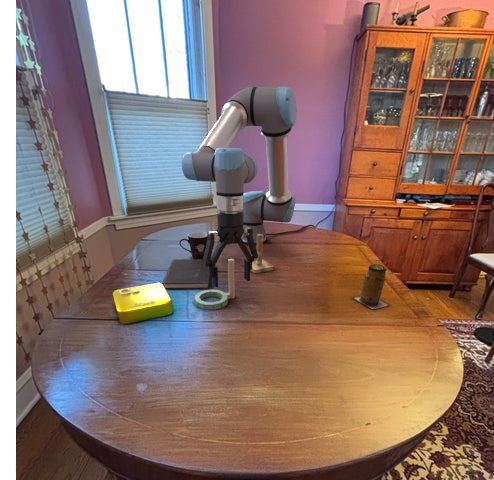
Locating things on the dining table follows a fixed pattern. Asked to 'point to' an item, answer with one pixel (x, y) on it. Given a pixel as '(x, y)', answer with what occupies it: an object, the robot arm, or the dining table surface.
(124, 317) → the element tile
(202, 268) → the hardcover book
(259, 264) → the post
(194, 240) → the coffee mug
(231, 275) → the hoop
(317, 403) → the dining table surface
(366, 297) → the condiment
